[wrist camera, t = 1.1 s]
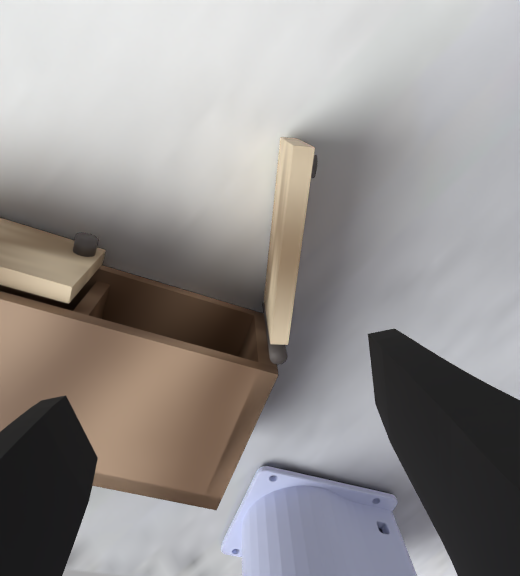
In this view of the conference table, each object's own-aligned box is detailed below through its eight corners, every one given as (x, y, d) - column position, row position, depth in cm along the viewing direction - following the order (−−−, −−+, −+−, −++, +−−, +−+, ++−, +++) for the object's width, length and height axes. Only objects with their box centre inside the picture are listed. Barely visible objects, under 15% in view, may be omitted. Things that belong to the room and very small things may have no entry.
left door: (289, 312, 20) (303, 365, 16) (262, 310, 20) (268, 364, 16) (312, 139, 17) (337, 150, 13) (279, 136, 17) (294, 145, 13)
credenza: (280, 286, 20) (294, 340, 15) (220, 431, 23) (216, 510, 19) (-80, 172, 17) (-197, 197, 12) (-87, 358, 20) (-180, 431, 16)
